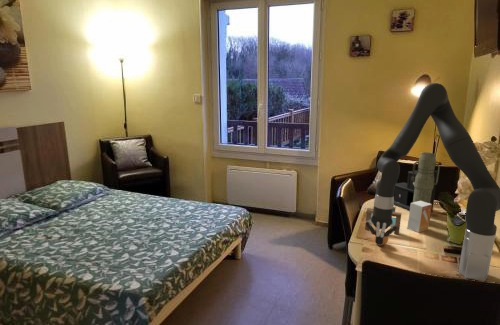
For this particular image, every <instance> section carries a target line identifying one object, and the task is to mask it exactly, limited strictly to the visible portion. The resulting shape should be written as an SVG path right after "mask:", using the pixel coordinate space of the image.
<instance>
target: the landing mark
mask: <svg viewBox="0 0 500 325" xmlns="http://www.w3.org/2000/svg"><path fill="white" fill-rule="evenodd" d="M372 216H373V213H371V217H372ZM392 221H393V224H395V222H396V217H394V216H392ZM371 223H372V222H371ZM372 225H373V223H372ZM390 226H391V225H390ZM390 226H389V227H390Z"/></svg>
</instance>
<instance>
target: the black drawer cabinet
mask: <svg viewBox="0 0 500 325" xmlns="http://www.w3.org/2000/svg"><path fill="white" fill-rule="evenodd" d="M412 173H413V170H410V171H408V172H407V182H397V183H396V185H395V191H394V206H395V207H399V208H401V209H404V210H405V211H408V212H410V204H411V203H413V197H414V190H415V187H414V182H413V181H412ZM416 174H417V170H415V173H414V179H415V176H416ZM436 176H437V170H434V178H435V180H434V181H435V183H436ZM436 187H437V185H434V187H433V190H432V193H431V200H430V204H432V208H431V213H433V211H434V204H435V196H436Z"/></svg>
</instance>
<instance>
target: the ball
mask: <svg viewBox="0 0 500 325" xmlns="http://www.w3.org/2000/svg"><path fill="white" fill-rule="evenodd" d="M385 232H386V231H385ZM385 232H384V233H385ZM380 234H381V230H379V235H380ZM373 240H374V242H375V243H376V235H373ZM388 242H389V236H388V237H386V236H385V237H383V243H382V244H381V245H380V246H383V245H386V244H387V243H388Z"/></svg>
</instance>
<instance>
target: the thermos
mask: <svg viewBox="0 0 500 325" xmlns="http://www.w3.org/2000/svg"><path fill="white" fill-rule="evenodd" d="M416 165H417V170H416ZM436 166H437V170H435V169H436ZM440 168H441V166H440V164H439V163H437V159H436V154H434V153H433V152H422V153H420V155H419V158H418V161H415V162H414V163H413V164H412V171H413V173H412V181H413V182H414V187H415V190H414V197H413V202H417V201H423V202H427V203H430V200H431V193H432V190H433V187H434V185H436V186H437V185H438V182H439V175H440ZM415 171H417V174H416V176H415V179H414V173H415ZM434 171H437V176H436V183H435V181H434V180H435V178H434Z"/></svg>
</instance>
